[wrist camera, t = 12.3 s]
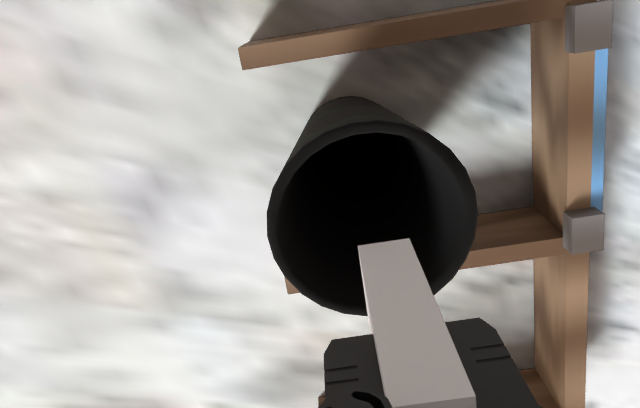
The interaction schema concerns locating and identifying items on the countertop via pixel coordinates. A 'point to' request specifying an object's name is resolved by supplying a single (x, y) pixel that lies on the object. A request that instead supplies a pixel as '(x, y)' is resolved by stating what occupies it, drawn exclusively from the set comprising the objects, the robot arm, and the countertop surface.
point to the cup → (367, 202)
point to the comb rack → (547, 159)
